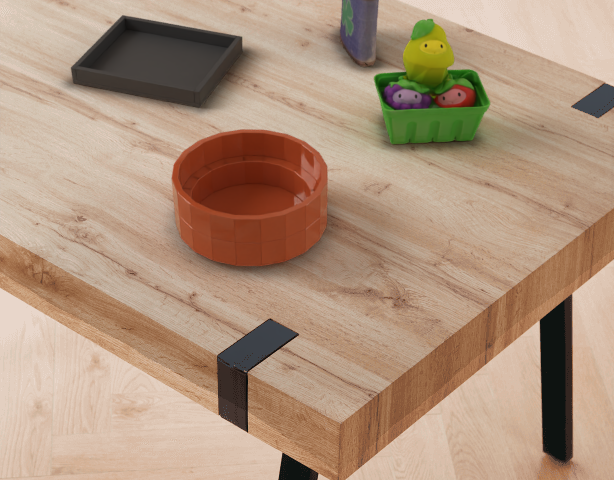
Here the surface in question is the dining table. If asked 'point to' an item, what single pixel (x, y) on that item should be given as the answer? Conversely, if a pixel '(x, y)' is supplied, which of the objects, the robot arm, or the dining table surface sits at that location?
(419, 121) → the fruit basket
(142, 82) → the tray
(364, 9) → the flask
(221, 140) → the bowl
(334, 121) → the dining table surface
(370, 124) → the dining table surface
